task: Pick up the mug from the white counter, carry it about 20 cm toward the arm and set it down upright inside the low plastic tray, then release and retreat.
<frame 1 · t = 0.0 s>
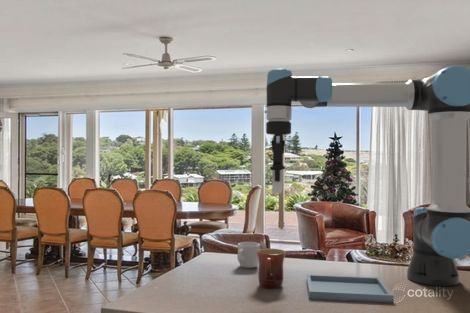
hand: (277, 191, 134), 28 cm above the kitchen counter, fingers open, 13 cm apart
mug: (270, 288, 130), on the kitchen counter
tray: (346, 291, 127), on the kitchen counter
cup: (246, 268, 154), on the kitchen counter
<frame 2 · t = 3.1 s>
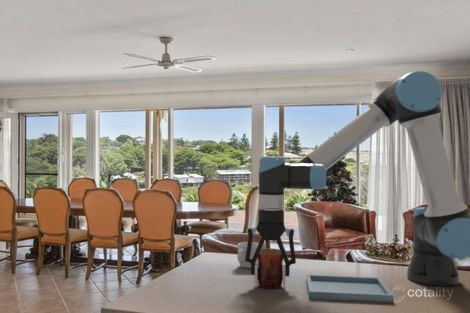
hand: (270, 286, 130), 0 cm above the kitchen counter, fingers closed on mug, 7 cm apart
mug: (269, 288, 130), on the kitchen counter, touching gripper
everything else where it was.
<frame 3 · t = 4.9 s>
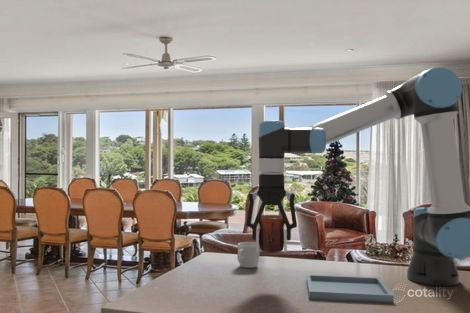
hand: (271, 251, 130), 11 cm above the kitchen counter, fingers closed on mug, 7 cm apart
mug: (271, 252, 130), point 10 cm above the kitchen counter, touching gripper
everything else where it was.
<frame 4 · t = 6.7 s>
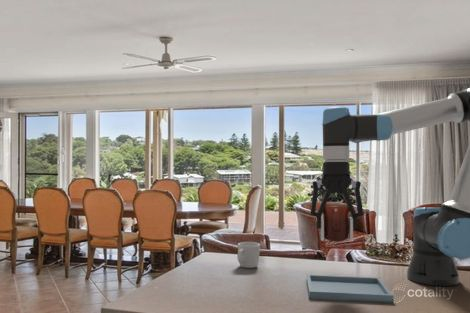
hand: (336, 240, 128), 15 cm above the kitchen counter, fingers closed on mug, 7 cm apart
mug: (336, 241, 128), point 14 cm above the kitchen counter, touching gripper
everything else where it was.
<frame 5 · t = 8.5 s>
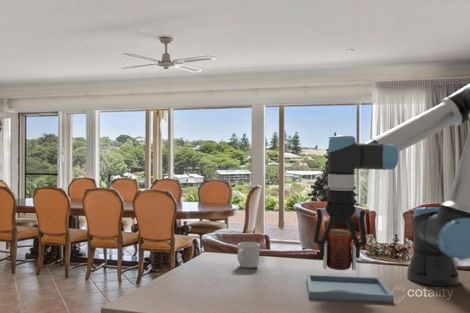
hand: (339, 268, 128), 6 cm above the kitchen counter, fingers closed on mug, 7 cm apart
mug: (338, 269, 128), point 6 cm above the kitchen counter, touching gripper
everything else where it was.
when the fingers open (2 cm above the kitchen counter, at t = 10.2 s): mug drops 1 cm, resting on tray.
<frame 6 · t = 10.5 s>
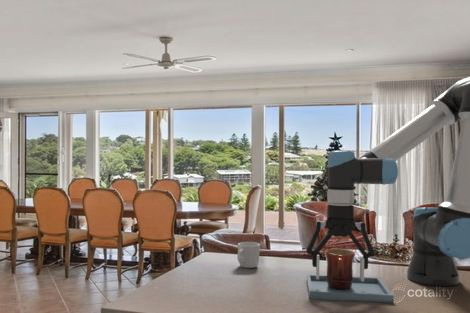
hand: (339, 279, 128), 3 cm above the kitchen counter, fingers open, 12 cm apart
mug: (339, 289, 128), resting on tray
everything else where it was.
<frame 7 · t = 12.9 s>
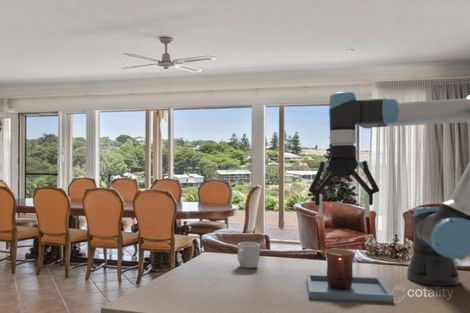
hand: (343, 216, 131), 21 cm above the kitchen counter, fingers open, 13 cm apart
nothing on the kitchen counter moved.
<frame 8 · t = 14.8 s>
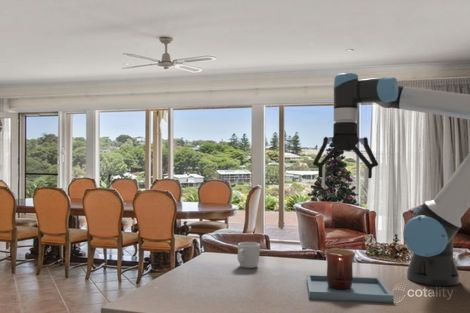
hand: (344, 188, 142), 29 cm above the kitchen counter, fingers open, 13 cm apart
nothing on the kitchen counter moved.
at the end: mug inside the target area on the tray (2.0 cm from its centre), point 0.4 cm above the tray's base; mug tilted 0°; the gripper is holding nothing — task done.
